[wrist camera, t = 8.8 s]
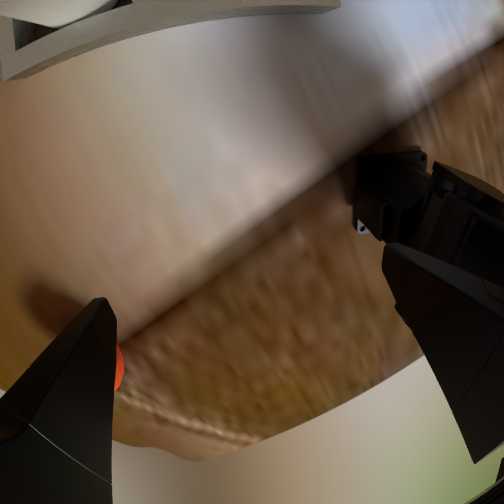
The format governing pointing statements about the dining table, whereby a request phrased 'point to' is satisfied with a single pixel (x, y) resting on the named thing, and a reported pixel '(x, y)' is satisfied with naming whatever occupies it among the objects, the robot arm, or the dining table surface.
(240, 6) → the grey compartment tray
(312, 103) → the dining table surface
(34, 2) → the can
